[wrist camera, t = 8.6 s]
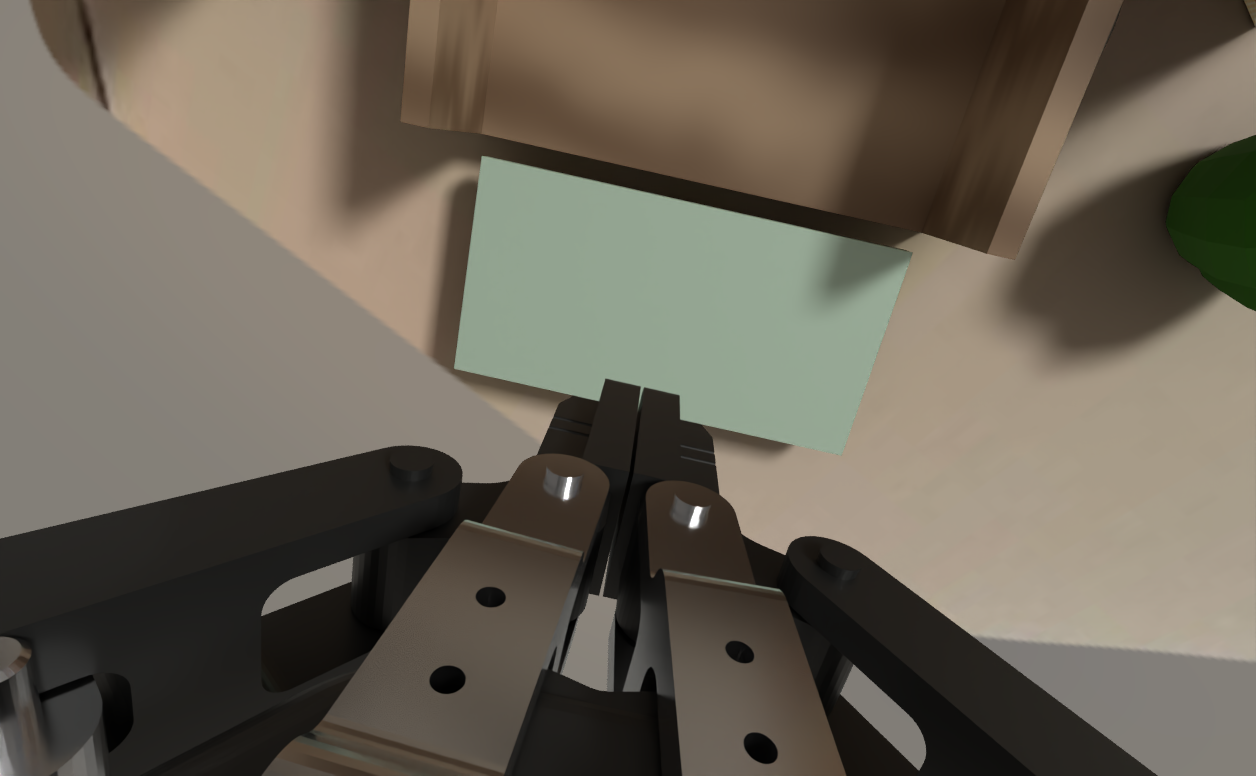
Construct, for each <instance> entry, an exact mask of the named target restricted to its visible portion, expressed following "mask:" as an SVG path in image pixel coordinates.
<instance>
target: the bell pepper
mask: <svg viewBox="0 0 1256 776" xmlns="http://www.w3.org/2000/svg"><path fill="white" fill-rule="evenodd" d="M1166 227H1167V229H1168V231H1169V234H1170V236H1171V238H1172V240H1173V242H1174V244H1175V247H1176V249H1177V251H1178V253H1179V255H1180V256H1181V257H1183V258H1184V259H1186V260H1187V261H1188V262H1190V263H1191V264H1192V265H1194V266H1195V267H1197V268H1199V269H1200V271H1201V274H1202V276H1203V277H1204V278H1205V279H1207V280H1208V281H1209V282H1210V283H1212V284H1213V285H1214V286H1215V287H1217V288H1218V289H1219V290H1220V291H1222V292H1224V293H1225V294H1227V295H1228V296H1230V297H1231V298H1233V299H1234V300H1236V301H1238V302H1239V303H1241V304H1242V305H1244V306H1245V307H1247V308H1249V309H1252V310H1254V311H1256V135H1254V136H1251V137H1248V138H1246V139H1243V140H1240V141H1237V142H1234V143H1232V144H1230V145H1228V146H1226V147H1224V148H1223V149H1221V150H1219V151H1217V152H1216V153H1214V154H1212V155H1210V156H1209V157H1207V158H1205V159H1203V160H1202V161H1200V162H1198V163H1197V164H1196V165H1195V166H1194V167H1193V168H1192V169H1191V171H1190V172H1189V173H1188V175H1187V176H1186V177H1185V179H1184V180H1183V181H1182V183H1181V184H1180V186H1179V187H1178V188H1177V190H1176V191H1175V192H1174V194H1173V195H1172V197H1171V201H1170V206H1169V210H1168V214H1167V218H1166Z"/></svg>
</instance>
